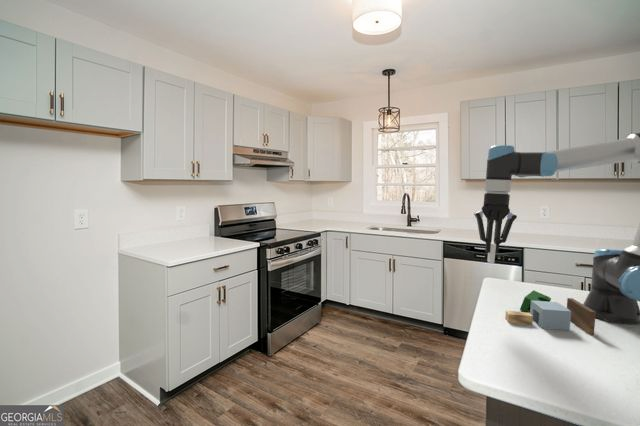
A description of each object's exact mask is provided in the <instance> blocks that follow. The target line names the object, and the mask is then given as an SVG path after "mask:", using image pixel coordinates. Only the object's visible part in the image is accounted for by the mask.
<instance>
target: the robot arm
mask: <svg viewBox="0 0 640 426" xmlns="http://www.w3.org/2000/svg"><path fill="white" fill-rule="evenodd" d="M626 162H630V163H632V164H640V132H638V133H637V132H636V133H631V134H629V135H628V136H627V137H626V138H621V139H615V140H609V141H608V140H607V141H604V142H597V143H591V144H590V143H589V144H585V145H578V146H574V147H568V148H560V149H556V150H550V151H542V152H539V151H538V152H531V151H529V152H519V151H516V150H515V146H514V145H507V144H504V145H503V144H502V145H501V144H500V145H498V144H497V145H492V146H491V147H489V149H488V153H487V160H486V171H485V172H486V173H485V174H486V175H485V183H484V184H485V185H484V192H485V193H484V194H483V206H482V207H481V210H479V211H477V212H476V211H475V212H474V214H473V215H474V217H475V218H476V221H477V227H478V233H479V240H481V241H482V242H483V243H485V245H484V246H485V248H484V251H485V252H486V253H487V259H486V261H487V262H488V263H489V264H495V259H496V254H499V250H500V245H501V244H502V243H504V244H505V243H506V242H507V239H508V236H509V234H510V231H511V229H512V226H513V224H514V223H513V222H514V221H515V220H516V219H517V214H514V213H512V212H511V209H510V207H509V205H510V198H511V197H510V196H511V195H510V194H509V193H511V187H512V186H511V185H512V178H513V177H512V176H516V177H519V178H527V177H541V178H544V177H553V176H554V175H555V174H556V173H558V172H565V171H572V170H578V169H586V168H593V167H599V166H605V165H606V166H607V165H614V164H621V163H626ZM483 216H484V217H485V218H486V232H485V227H484V220H483ZM506 218H507V219H506ZM504 219H506V221H505V223H504V227H503V230H502V224H503V220H504ZM493 229H494V233H493ZM493 234H494V235H493ZM492 239H493V240H492ZM492 241H493V242H492ZM592 260H593V261H592V273H591V284H590V285H591V286H590V291H589V293H588V294H587V296H586V298H585V299H584V302H583V303H582V304H583V305H585V306H587V307H588V308H590V309H592V310H593V311H595V312H596V317H595V319H596V318H597V319H600V320H604V321H607V322H611V323H616V324H624V325H636V324H640V307H639V303H638V302H640V223H639V224H638V227H637V230H636V231H635V235H634V237H633V240H632V243H631V245H629V246H627V247H624V248H622V249H613V248H612V249H611V248H597V249H596V250H594V253H593V257H592Z"/></svg>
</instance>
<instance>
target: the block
mask: <svg viewBox="0 0 640 426" xmlns="http://www.w3.org/2000/svg"><path fill="white" fill-rule="evenodd" d="M529 313H530V314H531V315H532V316H533V321H537V322H538V323H537V325H538V326H539V328H540V329H548V330H550V329H551V330H562V331H570V329H571V322H570V321H571V311H570V310H569V309H567V307H566V306H564V305H563V304H560V303H559V302H557V301H550V302H547V301H532V300H531V306H530V311H529Z"/></svg>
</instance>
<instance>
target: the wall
mask: <svg viewBox="0 0 640 426" xmlns="http://www.w3.org/2000/svg"><path fill="white" fill-rule="evenodd" d="M566 300H567V302H566V308H567V309H569V310H570V311H571V321H570V323H572V324H573V325H575V327H577V328H579V329H580V330H581V331H583V332H584V333H586V334H588V335H595V326H596V312H595V311H593V310H592V309H590V308H588V307H587V306H585V305H583V304H584V303H581V302H580V301H577V300H576V299H574V298H573V297H571V298H570V297H568V298H567V299H566Z"/></svg>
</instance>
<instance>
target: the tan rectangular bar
mask: <svg viewBox="0 0 640 426" xmlns="http://www.w3.org/2000/svg"><path fill="white" fill-rule="evenodd" d="M504 319H505V320H506V322H507V323H513V324H520V325H531V326H532V325H533V321H534V320H533V316H532V315H531V314H530V312H523V311H515V310H514V311H513V310H505V317H504Z"/></svg>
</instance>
